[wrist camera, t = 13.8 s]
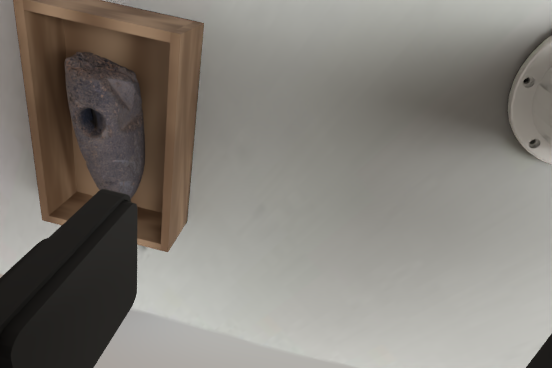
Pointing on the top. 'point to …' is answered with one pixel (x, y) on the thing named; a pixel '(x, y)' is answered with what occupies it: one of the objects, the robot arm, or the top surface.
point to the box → (154, 92)
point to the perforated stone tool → (107, 120)
